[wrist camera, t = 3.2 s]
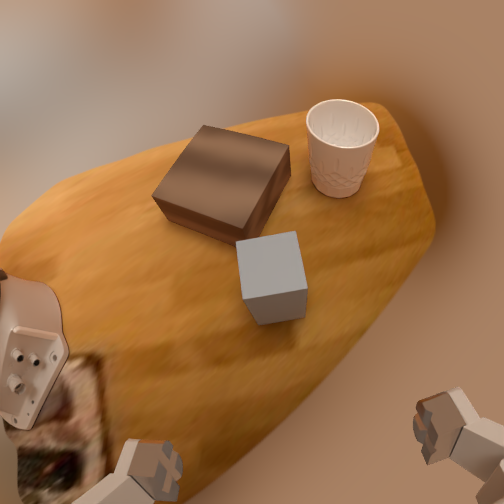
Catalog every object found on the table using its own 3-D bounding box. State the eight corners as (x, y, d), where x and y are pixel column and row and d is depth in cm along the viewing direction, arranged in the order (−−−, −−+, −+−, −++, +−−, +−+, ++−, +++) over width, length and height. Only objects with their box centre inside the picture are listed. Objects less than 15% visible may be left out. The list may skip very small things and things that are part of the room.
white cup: (301, 195, 39) (299, 140, 30) (312, 150, 42) (312, 94, 33) (362, 208, 37) (377, 155, 28) (368, 161, 40) (380, 106, 31)
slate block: (305, 317, 33) (307, 288, 24) (258, 325, 33) (242, 299, 24) (296, 273, 35) (295, 230, 26) (252, 281, 36) (235, 241, 26)
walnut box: (250, 253, 37) (242, 228, 32) (169, 221, 41) (151, 195, 35) (290, 176, 41) (289, 145, 36) (213, 154, 45) (203, 125, 39)
